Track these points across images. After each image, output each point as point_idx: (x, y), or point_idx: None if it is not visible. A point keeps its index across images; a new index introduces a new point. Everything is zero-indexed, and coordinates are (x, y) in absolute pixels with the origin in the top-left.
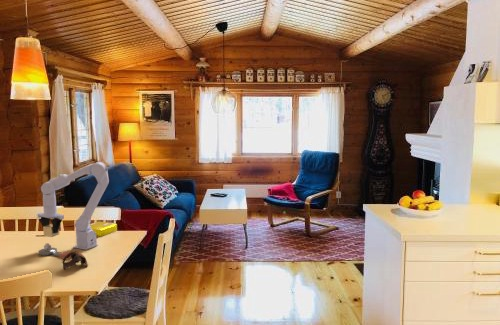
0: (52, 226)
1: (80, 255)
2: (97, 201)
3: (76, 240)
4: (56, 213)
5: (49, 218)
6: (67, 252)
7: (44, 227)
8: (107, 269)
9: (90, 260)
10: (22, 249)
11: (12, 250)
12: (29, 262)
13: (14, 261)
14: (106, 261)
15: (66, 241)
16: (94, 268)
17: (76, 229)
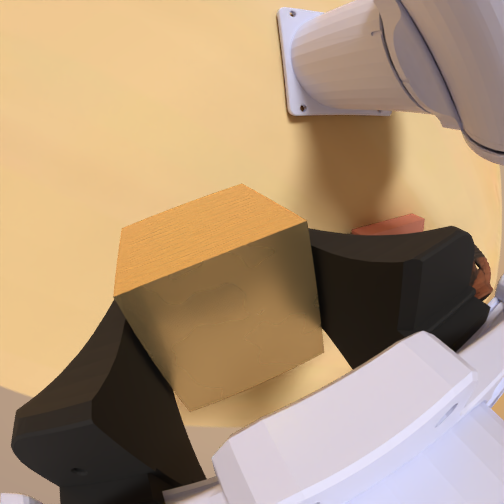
0: (305, 333)
1: (490, 278)
2: None
3: (344, 99)
4: (496, 416)
5: (118, 414)
6: (384, 232)
7: (209, 395)
8: (495, 222)
9: (456, 204)
10: (43, 342)
11: (32, 374)
12: (288, 370)
13: (220, 405)
14: (483, 182)
15: (95, 49)
16: (479, 238)
17: (430, 105)
